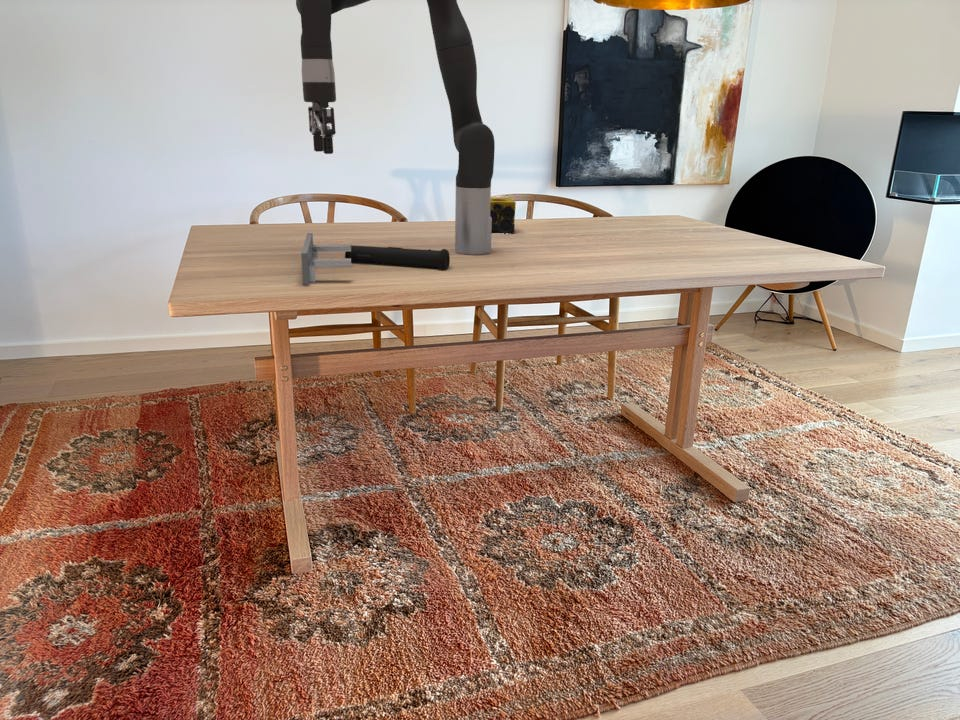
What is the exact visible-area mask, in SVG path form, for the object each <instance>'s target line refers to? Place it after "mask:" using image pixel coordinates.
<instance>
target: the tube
mask: <svg viewBox="0 0 960 720" xmlns="http://www.w3.org/2000/svg"><path fill="white" fill-rule="evenodd" d="M450 257H451V256H450V252H449V250H448V249H447V248H443V249H441V250H436V249H435V250H433V249H417V248H416V249H415V248H404V247H396V246H387V247H385V246H384V247H382V246H367V245H353V244H351V251H347V252H344V258H351V263H353V262H354V263H356V264H368V265H369V264H370V265H382V266H397V267H410V268H424V269H439V271H446V270H448V269H449V267H450V263H451V262H450V260H451V259H450ZM354 263H353V264H354Z"/></svg>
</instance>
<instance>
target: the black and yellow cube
mask: <svg viewBox="0 0 960 720" xmlns="http://www.w3.org/2000/svg"><path fill="white" fill-rule="evenodd" d="M516 203H517V202H516V201H515V200H514V199H513V198H512V197H492V196H491V201H490V217H491V218H492V228H491V233H504V234H503V235H507V234H506V233H511V234H510V235H514V234H515V226H516V224H515V220H516V219H515V218H516V217H515V216H516Z"/></svg>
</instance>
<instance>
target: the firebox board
mask: <svg viewBox="0 0 960 720" xmlns="http://www.w3.org/2000/svg"><path fill="white" fill-rule="evenodd" d="M313 237H314V236H313V233H312V232H306V236H305V240H304V242H303V246H302V250H301V255H300V256H301V270H302V286H304V287H306V286H307V287H309V286H310V280H309V263H308V261H309V259H313V256H312V245H314V239H313Z"/></svg>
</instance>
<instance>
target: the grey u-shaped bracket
mask: <svg viewBox="0 0 960 720" xmlns="http://www.w3.org/2000/svg"><path fill="white" fill-rule="evenodd" d="M351 245H352V244H351V243H350V244H349V243H348V244H343V243H342V244H313V245H312V256H313V259H309V261H308V263H309V280H310V283H311V282H312V283H313V284H314V283H316V282H317V277H316V267H317V268H320V267H321V268H322V267H323V268H325V267H330V268H331V267H334V268H335V267H352V262H351V258H345V257H344V258H319V253H323V252H324V253H326V252H327V253H329V252H330V253H331V252H334V253H335V252H343V253H345V252H347V251H351ZM310 283H309V284H310Z"/></svg>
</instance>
